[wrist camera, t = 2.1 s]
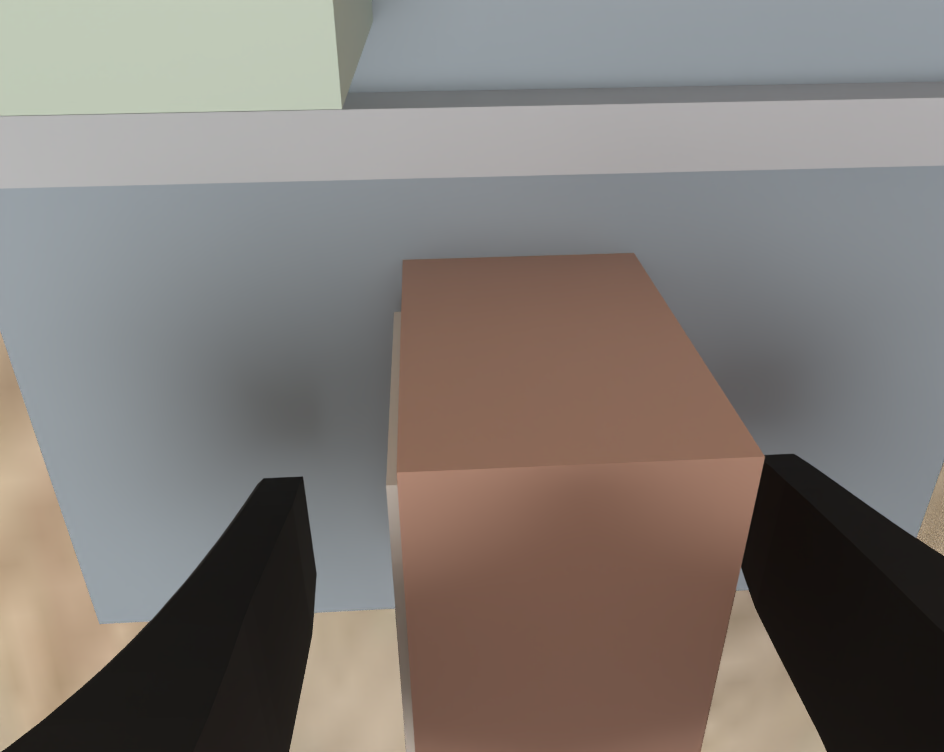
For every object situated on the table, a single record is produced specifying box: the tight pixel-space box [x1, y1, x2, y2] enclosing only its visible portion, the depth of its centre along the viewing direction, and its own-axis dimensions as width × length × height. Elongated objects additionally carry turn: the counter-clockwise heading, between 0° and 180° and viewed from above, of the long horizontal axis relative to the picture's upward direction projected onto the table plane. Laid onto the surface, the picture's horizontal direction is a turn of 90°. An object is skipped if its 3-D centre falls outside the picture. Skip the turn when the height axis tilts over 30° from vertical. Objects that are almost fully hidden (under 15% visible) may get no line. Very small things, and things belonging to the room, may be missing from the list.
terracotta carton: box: [386, 253, 765, 752], centre depth 13 cm, size 6×4×6 cm, turn 0°
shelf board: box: [0, 0, 944, 624], centre depth 13 cm, size 18×18×3 cm
